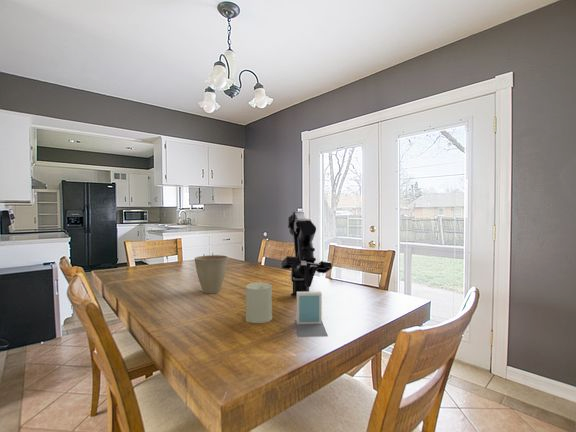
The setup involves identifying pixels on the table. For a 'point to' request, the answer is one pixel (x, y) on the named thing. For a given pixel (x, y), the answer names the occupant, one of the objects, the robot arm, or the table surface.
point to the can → (258, 302)
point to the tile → (309, 307)
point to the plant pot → (211, 272)
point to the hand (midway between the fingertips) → (308, 286)
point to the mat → (310, 330)
